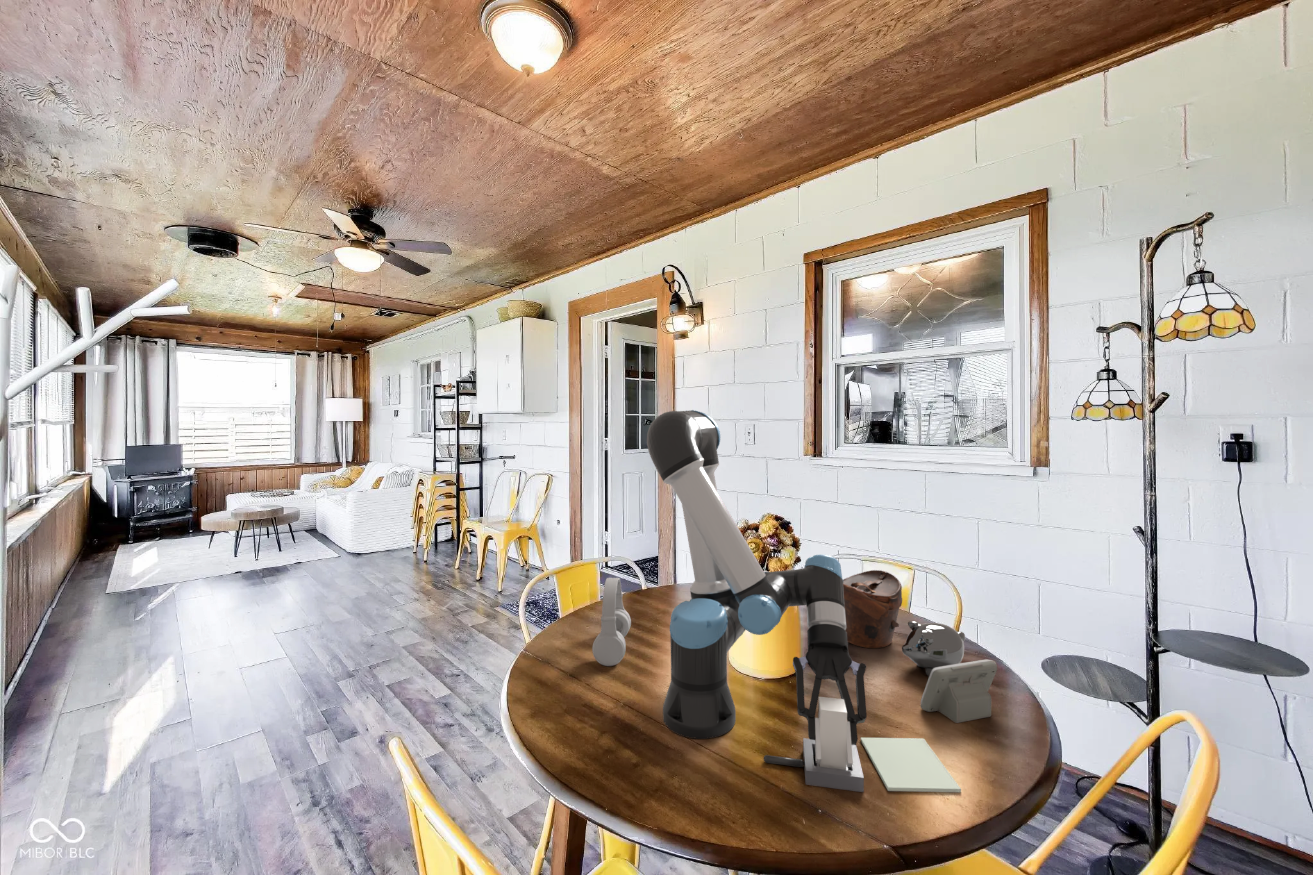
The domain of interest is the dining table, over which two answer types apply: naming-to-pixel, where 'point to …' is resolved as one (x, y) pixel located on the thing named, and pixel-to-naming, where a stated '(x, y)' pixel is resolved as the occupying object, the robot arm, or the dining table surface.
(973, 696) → the digital clock
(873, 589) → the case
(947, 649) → the piggy bank
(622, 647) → the headphones
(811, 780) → the socket block
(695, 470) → the robot arm
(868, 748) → the mat
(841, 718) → the plug
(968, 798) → the dining table surface
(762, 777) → the dining table surface
